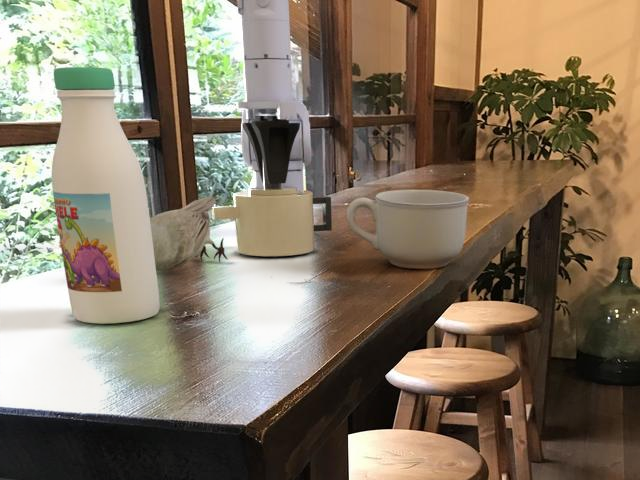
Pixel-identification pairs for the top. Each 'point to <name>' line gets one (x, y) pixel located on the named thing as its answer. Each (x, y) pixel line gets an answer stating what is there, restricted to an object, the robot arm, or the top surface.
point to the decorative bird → (182, 234)
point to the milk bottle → (101, 205)
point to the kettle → (275, 219)
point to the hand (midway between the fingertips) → (273, 182)
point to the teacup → (415, 226)
